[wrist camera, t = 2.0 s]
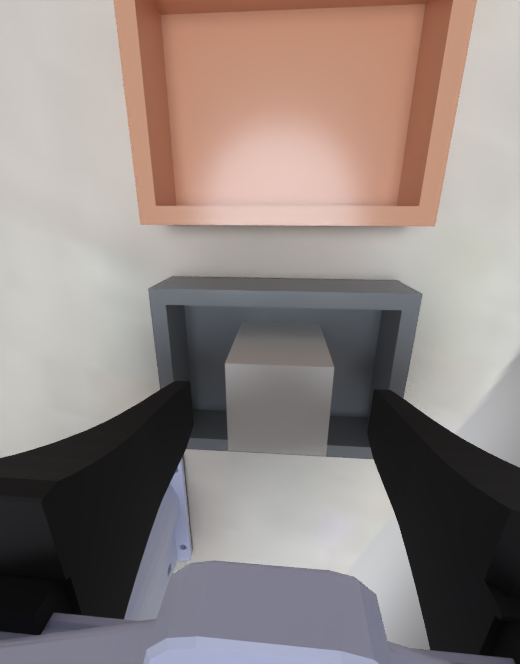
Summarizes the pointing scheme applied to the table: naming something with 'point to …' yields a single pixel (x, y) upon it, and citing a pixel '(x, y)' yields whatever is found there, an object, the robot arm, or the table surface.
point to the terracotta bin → (291, 108)
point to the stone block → (279, 389)
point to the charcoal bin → (286, 307)
